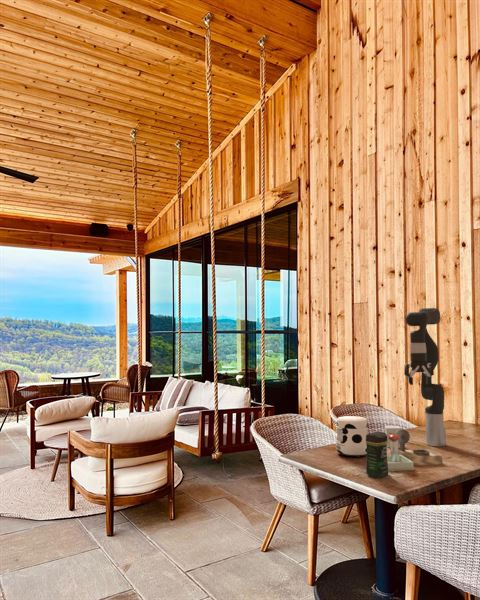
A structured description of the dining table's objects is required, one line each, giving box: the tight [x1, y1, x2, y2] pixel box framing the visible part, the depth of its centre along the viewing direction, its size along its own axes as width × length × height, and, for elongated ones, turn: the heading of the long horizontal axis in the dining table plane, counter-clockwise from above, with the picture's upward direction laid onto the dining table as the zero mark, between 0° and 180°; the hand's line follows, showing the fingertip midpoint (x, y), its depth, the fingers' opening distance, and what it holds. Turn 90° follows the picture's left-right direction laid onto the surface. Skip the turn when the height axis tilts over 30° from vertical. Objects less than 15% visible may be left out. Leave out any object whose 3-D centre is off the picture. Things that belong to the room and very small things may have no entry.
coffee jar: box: [365, 430, 389, 479], centre depth 201 cm, size 10×8×19 cm
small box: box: [384, 425, 402, 449], centre depth 249 cm, size 8×6×10 cm
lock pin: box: [388, 434, 400, 462], centre depth 213 cm, size 5×5×13 cm
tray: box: [387, 455, 415, 472], centre depth 213 cm, size 12×12×3 cm
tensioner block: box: [395, 428, 443, 466], centre depth 221 cm, size 18×12×14 cm, turn 96°
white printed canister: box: [335, 415, 369, 458], centre depth 235 cm, size 17×17×18 cm
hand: (419, 384), depth 228 cm, fingers open, 8 cm apart
